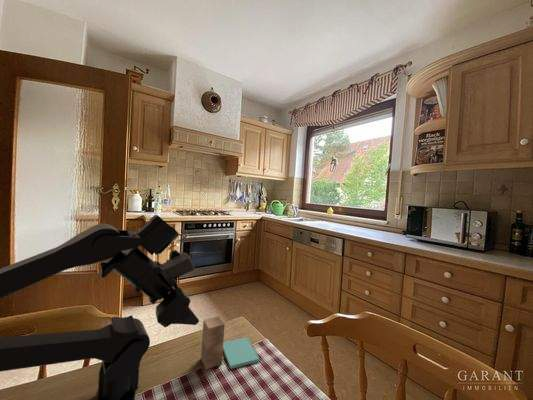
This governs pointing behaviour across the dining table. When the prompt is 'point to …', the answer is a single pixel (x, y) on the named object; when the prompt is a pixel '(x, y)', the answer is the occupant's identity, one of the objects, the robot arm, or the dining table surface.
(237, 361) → the mat
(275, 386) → the dining table surface
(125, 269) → the robot arm
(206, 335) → the walnut block
